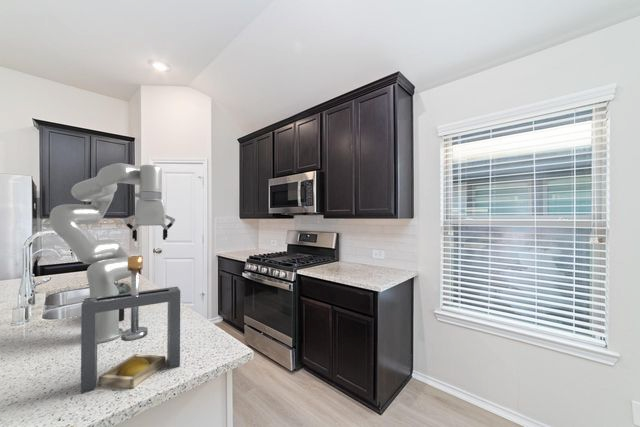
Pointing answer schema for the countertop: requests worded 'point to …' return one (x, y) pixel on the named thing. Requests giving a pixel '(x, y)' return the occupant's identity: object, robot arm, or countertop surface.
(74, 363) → the countertop surface
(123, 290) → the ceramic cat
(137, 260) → the plunger
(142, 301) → the frame
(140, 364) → the bread roll
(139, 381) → the cradle
